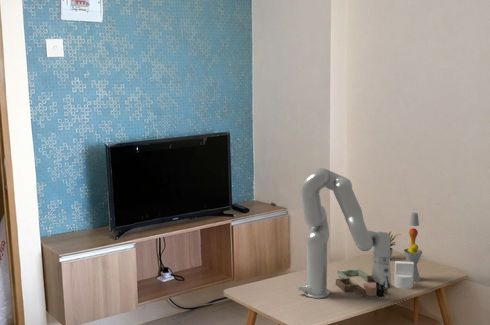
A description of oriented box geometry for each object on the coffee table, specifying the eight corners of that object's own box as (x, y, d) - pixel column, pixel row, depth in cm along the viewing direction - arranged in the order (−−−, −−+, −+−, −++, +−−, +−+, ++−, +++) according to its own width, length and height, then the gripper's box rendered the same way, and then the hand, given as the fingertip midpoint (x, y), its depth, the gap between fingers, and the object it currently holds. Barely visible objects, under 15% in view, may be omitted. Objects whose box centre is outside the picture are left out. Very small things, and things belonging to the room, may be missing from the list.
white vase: (395, 288, 283) (396, 265, 281) (393, 281, 292) (394, 259, 290) (414, 289, 282) (415, 265, 280) (411, 282, 291) (412, 260, 289)
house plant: (396, 254, 336) (397, 227, 333) (404, 262, 322) (405, 234, 320) (372, 255, 335) (373, 228, 333) (379, 262, 321) (380, 234, 319)
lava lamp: (399, 276, 299) (401, 211, 294) (414, 275, 301) (417, 210, 296) (408, 282, 290) (411, 215, 285) (424, 281, 293) (427, 214, 288)
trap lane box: (351, 298, 271) (352, 292, 270) (326, 277, 298) (326, 271, 298) (397, 292, 277) (398, 286, 277) (369, 273, 305) (369, 267, 304)
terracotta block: (369, 295, 274) (369, 287, 273) (363, 291, 280) (364, 283, 279) (380, 294, 275) (380, 286, 275) (375, 290, 281) (375, 282, 280)
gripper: (396, 263, 261) (395, 301, 263) (380, 253, 275) (379, 290, 278) (382, 264, 259) (380, 303, 261) (366, 254, 273) (365, 291, 275)
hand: (380, 296), depth 269 cm, fingers closed
